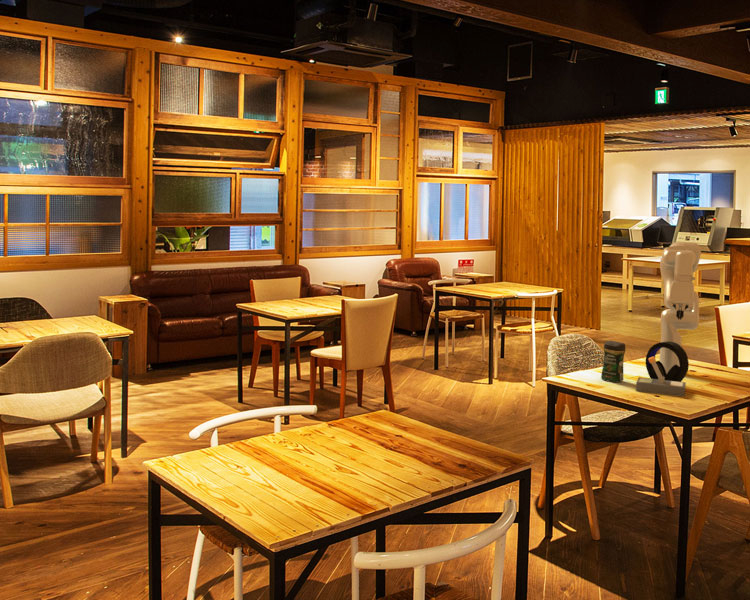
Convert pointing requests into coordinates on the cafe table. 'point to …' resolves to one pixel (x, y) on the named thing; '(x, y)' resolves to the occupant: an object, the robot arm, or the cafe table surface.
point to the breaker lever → (655, 366)
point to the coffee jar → (613, 361)
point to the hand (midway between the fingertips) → (679, 319)
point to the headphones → (676, 371)
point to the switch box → (660, 386)
